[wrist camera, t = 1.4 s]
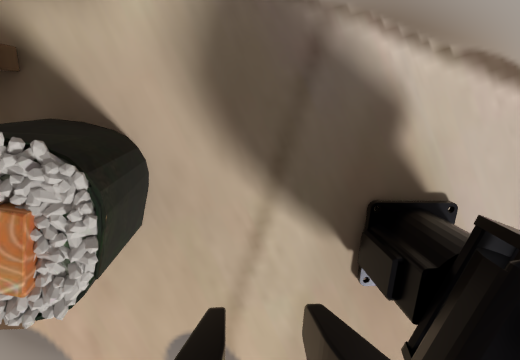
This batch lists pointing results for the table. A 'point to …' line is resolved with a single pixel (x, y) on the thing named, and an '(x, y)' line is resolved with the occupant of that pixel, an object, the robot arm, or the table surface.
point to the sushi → (63, 212)
